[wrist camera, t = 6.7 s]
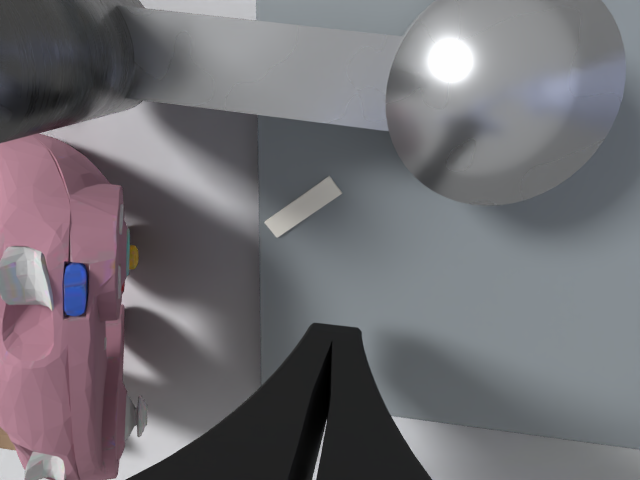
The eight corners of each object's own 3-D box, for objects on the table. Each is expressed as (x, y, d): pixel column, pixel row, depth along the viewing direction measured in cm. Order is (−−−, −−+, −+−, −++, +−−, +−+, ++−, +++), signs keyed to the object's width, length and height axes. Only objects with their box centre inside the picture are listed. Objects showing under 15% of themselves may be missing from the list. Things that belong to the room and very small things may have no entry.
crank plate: (1396, -778, 6) (1503, -864, 5) (702, 449, 15) (714, 464, 14) (253, -647, 7) (243, -703, 7) (264, 390, 16) (260, 402, 16)
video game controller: (146, 362, 19) (145, 527, 13) (18, 371, 17) (-49, 567, 11) (154, 131, 14) (156, 223, 9) (-15, 113, 13) (-150, 212, 7)
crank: (608, -8, 9) (838, -60, 5) (543, 188, 11) (661, 295, 6) (51, -62, 10) (-229, -148, 6) (76, 125, 12) (-121, 180, 8)
